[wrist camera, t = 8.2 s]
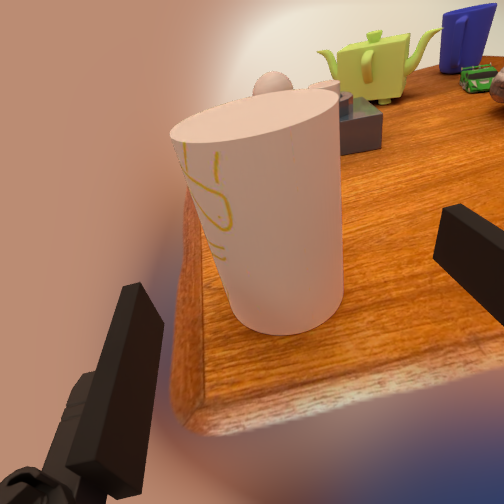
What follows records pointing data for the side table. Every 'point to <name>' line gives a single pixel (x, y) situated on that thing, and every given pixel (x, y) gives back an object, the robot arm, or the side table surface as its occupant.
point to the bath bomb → (272, 83)
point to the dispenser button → (327, 86)
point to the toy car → (477, 78)
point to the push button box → (358, 124)
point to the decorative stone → (498, 87)
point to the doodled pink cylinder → (270, 204)
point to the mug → (464, 37)
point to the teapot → (376, 65)
